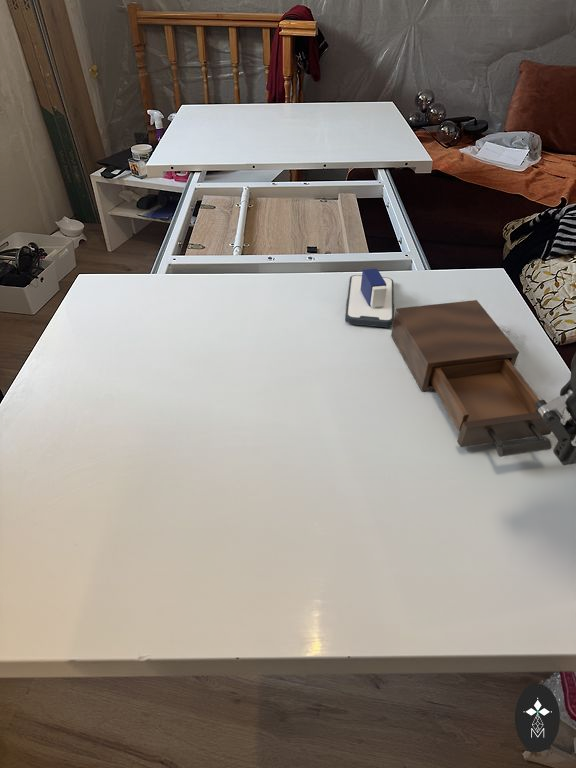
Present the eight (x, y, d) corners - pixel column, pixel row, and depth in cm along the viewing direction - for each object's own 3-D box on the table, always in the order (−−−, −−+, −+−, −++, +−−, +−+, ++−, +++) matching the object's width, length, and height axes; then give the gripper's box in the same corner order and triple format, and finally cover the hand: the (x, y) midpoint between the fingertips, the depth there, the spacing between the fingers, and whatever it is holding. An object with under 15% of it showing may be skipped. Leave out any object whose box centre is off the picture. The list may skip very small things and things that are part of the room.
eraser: (374, 288, 102) (377, 268, 100) (385, 307, 98) (388, 286, 95) (360, 289, 102) (362, 269, 99) (370, 309, 97) (373, 288, 94)
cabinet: (508, 380, 85) (519, 352, 81) (421, 391, 83) (428, 363, 79) (469, 327, 96) (476, 299, 92) (390, 335, 94) (395, 308, 90)
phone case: (349, 280, 108) (343, 325, 96) (349, 273, 107) (344, 317, 95) (393, 284, 107) (393, 329, 95) (394, 277, 106) (394, 322, 94)
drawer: (567, 457, 72) (577, 437, 70) (473, 471, 70) (481, 452, 68) (504, 373, 85) (511, 354, 83) (424, 383, 83) (428, 364, 81)
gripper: (663, 311, 54) (595, 428, 66) (544, 324, 52) (496, 442, 64) (720, 357, 49) (636, 476, 60) (590, 373, 47) (528, 493, 58)
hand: (564, 458), depth 62 cm, fingers closed
